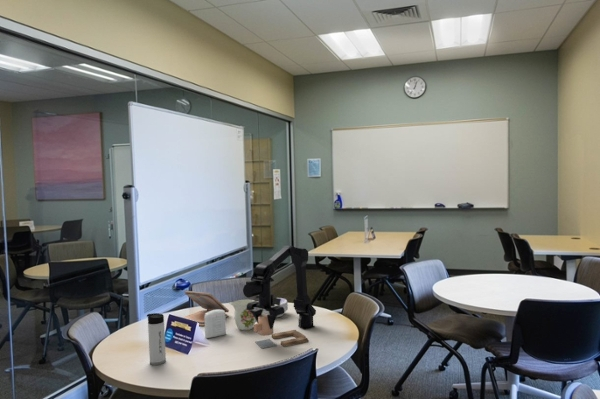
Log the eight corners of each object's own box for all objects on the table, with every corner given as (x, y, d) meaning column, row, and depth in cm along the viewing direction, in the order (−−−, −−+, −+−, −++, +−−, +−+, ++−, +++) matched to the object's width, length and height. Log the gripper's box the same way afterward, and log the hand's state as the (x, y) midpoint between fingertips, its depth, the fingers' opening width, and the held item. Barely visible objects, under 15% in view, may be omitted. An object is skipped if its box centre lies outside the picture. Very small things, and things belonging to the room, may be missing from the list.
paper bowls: (254, 317, 233) (253, 303, 233) (270, 310, 246) (270, 296, 246) (277, 321, 225) (277, 306, 225) (293, 313, 238) (292, 299, 238)
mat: (269, 339, 199) (269, 338, 199) (276, 345, 191) (276, 345, 191) (255, 342, 196) (255, 341, 196) (261, 348, 188) (261, 348, 188)
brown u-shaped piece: (295, 332, 207) (295, 329, 207) (308, 341, 194) (308, 338, 194) (271, 337, 202) (271, 334, 202) (283, 346, 189) (283, 343, 189)
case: (231, 316, 237) (229, 287, 237) (203, 327, 220) (202, 296, 219) (204, 312, 248) (203, 284, 248) (175, 322, 231) (174, 292, 230)
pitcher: (268, 327, 215) (267, 300, 215) (233, 334, 208) (232, 305, 207) (261, 321, 225) (259, 295, 225) (227, 327, 218) (226, 300, 217)
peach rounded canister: (266, 329, 198) (265, 313, 198) (276, 332, 194) (275, 315, 193) (250, 335, 190) (249, 318, 190) (260, 338, 186) (260, 321, 186)
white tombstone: (223, 332, 211) (222, 307, 211) (227, 334, 208) (226, 309, 207) (203, 336, 206) (202, 311, 205) (207, 339, 202) (206, 313, 202)
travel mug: (151, 359, 180) (149, 312, 179) (167, 358, 180) (165, 311, 180) (147, 365, 174) (144, 316, 173) (164, 364, 174) (161, 315, 174)
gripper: (292, 291, 193) (293, 326, 193) (262, 286, 205) (263, 319, 205) (274, 297, 184) (276, 333, 185) (245, 291, 196) (246, 325, 197)
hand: (265, 327), depth 193 cm, fingers closed on peach rounded canister, 7 cm apart
